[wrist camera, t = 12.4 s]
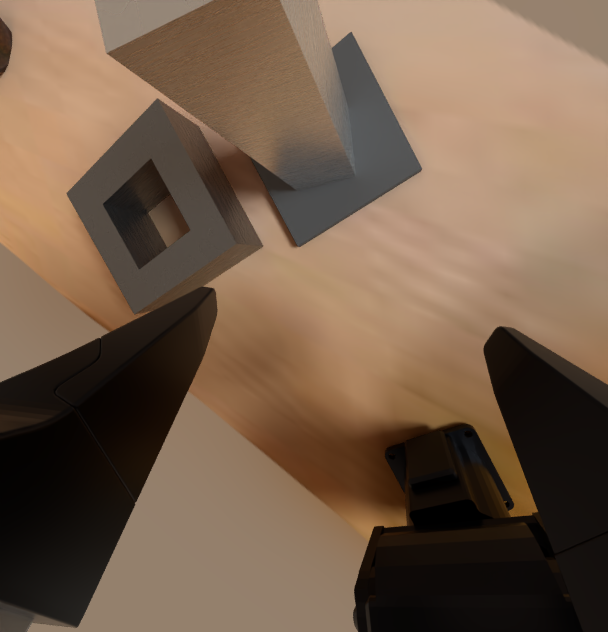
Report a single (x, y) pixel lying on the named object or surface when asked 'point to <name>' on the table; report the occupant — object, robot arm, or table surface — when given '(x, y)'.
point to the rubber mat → (368, 149)
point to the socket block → (145, 193)
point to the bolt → (5, 45)
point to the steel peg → (244, 76)
